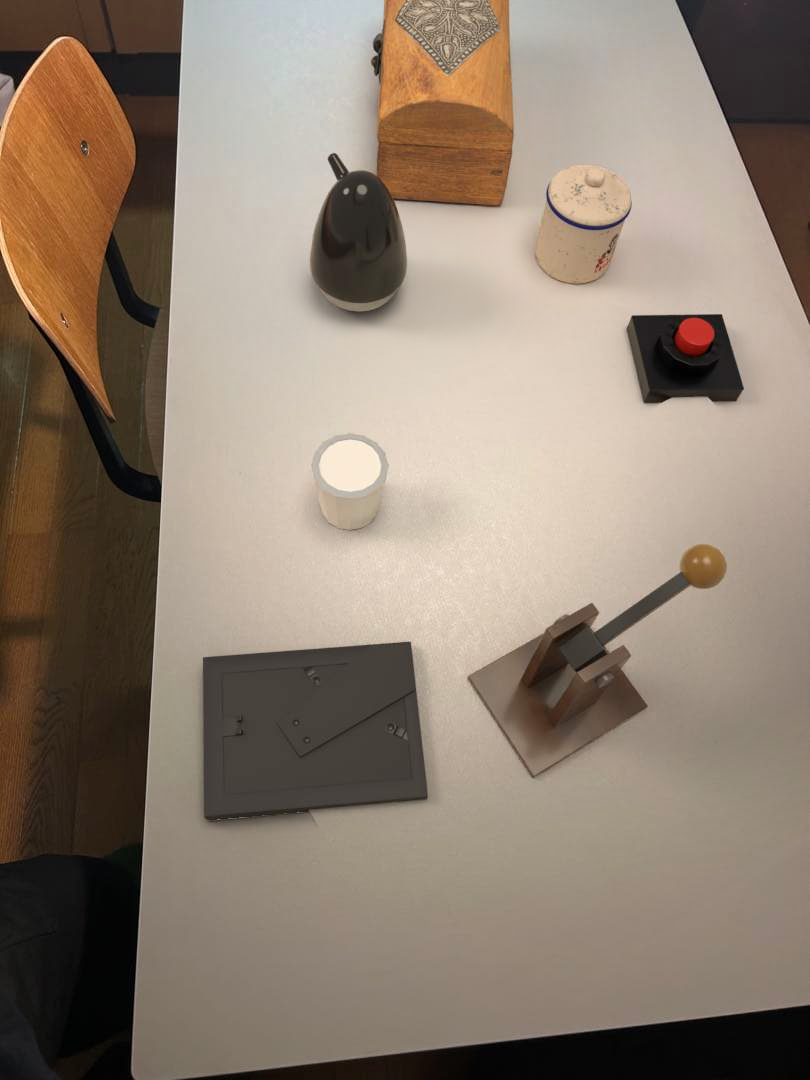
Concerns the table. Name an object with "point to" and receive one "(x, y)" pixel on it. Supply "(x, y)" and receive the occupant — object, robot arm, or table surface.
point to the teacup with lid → (581, 223)
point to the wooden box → (445, 100)
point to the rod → (648, 604)
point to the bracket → (556, 695)
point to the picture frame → (310, 730)
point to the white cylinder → (349, 479)
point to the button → (694, 336)
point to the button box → (682, 360)
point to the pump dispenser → (358, 241)
